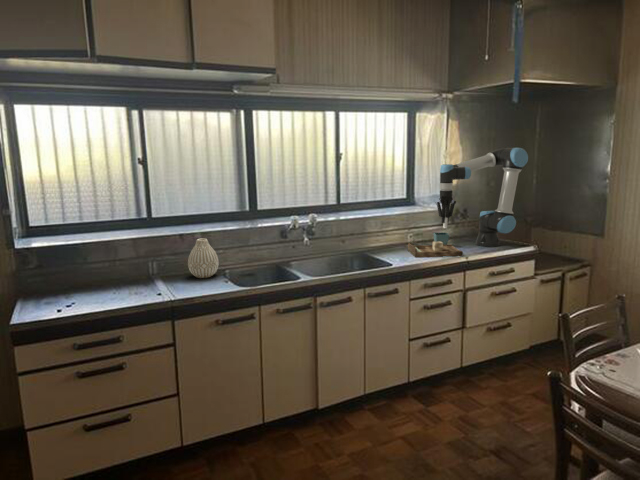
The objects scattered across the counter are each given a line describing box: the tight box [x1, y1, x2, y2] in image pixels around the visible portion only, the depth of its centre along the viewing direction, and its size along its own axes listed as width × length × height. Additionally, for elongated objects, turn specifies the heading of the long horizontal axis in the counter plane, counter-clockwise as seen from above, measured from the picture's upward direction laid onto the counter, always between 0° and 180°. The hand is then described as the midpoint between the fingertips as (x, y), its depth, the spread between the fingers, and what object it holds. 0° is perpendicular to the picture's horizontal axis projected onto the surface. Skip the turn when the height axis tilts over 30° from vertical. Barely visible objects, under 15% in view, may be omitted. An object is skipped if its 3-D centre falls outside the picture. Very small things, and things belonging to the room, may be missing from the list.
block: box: [432, 241, 443, 251], centre depth 302 cm, size 5×5×5 cm
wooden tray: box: [407, 243, 463, 258], centre depth 305 cm, size 29×20×5 cm
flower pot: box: [433, 232, 450, 245], centre depth 324 cm, size 9×9×9 cm
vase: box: [187, 237, 220, 279], centre depth 258 cm, size 16×16×20 cm
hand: (445, 228), depth 301 cm, fingers closed
